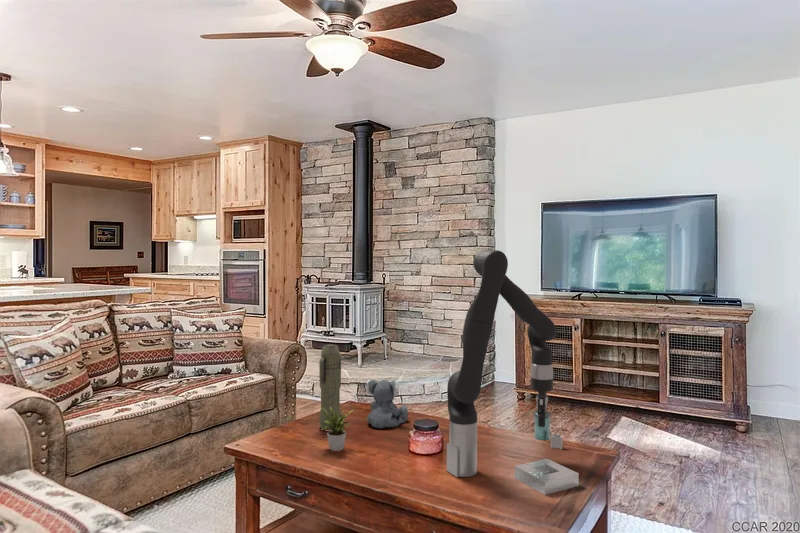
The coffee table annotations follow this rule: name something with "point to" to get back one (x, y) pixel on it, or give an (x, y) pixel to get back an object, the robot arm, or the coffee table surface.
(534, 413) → the cover plug
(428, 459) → the coffee table surface
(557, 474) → the bore housing
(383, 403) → the koala plush
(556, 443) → the lighter
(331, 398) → the thermos
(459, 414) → the robot arm
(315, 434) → the coffee table surface
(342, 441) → the house plant
